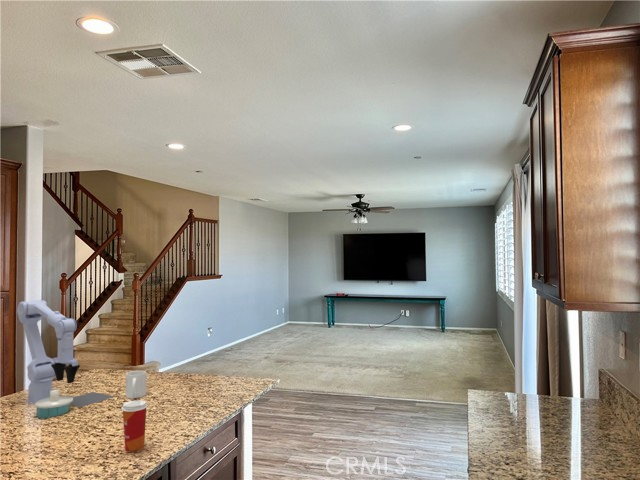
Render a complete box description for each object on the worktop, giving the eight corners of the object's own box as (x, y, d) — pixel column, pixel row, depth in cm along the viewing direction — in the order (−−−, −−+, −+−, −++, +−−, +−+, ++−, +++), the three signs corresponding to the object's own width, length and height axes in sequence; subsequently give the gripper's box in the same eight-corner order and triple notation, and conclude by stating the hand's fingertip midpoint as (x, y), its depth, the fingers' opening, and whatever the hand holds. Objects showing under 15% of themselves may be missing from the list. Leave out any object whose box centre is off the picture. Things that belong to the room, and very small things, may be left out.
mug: (143, 401, 194) (143, 376, 195) (122, 402, 192) (122, 378, 193) (147, 393, 206) (147, 370, 206) (127, 394, 204) (127, 371, 204)
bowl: (30, 415, 178) (30, 405, 178) (58, 407, 187) (58, 397, 188) (47, 420, 172) (47, 409, 173) (74, 411, 182) (74, 401, 182)
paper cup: (126, 443, 149) (126, 400, 150) (150, 442, 150) (150, 399, 150) (117, 453, 141) (117, 407, 142) (143, 452, 142) (143, 406, 143)
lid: (28, 405, 178) (28, 392, 178) (61, 396, 189) (61, 384, 190) (46, 410, 172) (46, 397, 172) (80, 400, 183) (80, 388, 183)
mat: (58, 402, 194) (58, 401, 194) (92, 392, 208) (92, 391, 208) (81, 408, 186) (81, 407, 186) (115, 397, 200) (115, 396, 200)
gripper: (45, 348, 189) (45, 381, 189) (66, 352, 182) (65, 386, 181) (62, 345, 195) (62, 377, 195) (82, 348, 188) (82, 382, 187)
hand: (65, 381), depth 189 cm, fingers open, 7 cm apart
